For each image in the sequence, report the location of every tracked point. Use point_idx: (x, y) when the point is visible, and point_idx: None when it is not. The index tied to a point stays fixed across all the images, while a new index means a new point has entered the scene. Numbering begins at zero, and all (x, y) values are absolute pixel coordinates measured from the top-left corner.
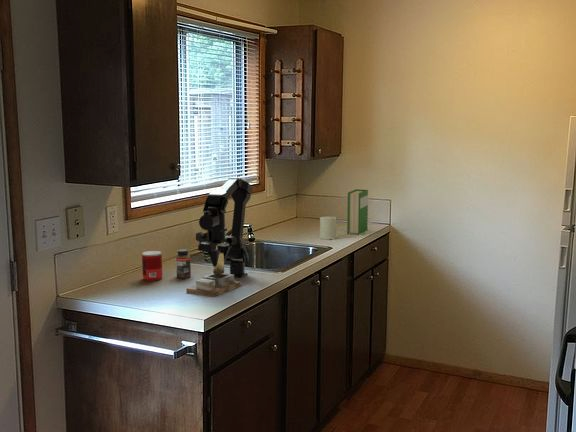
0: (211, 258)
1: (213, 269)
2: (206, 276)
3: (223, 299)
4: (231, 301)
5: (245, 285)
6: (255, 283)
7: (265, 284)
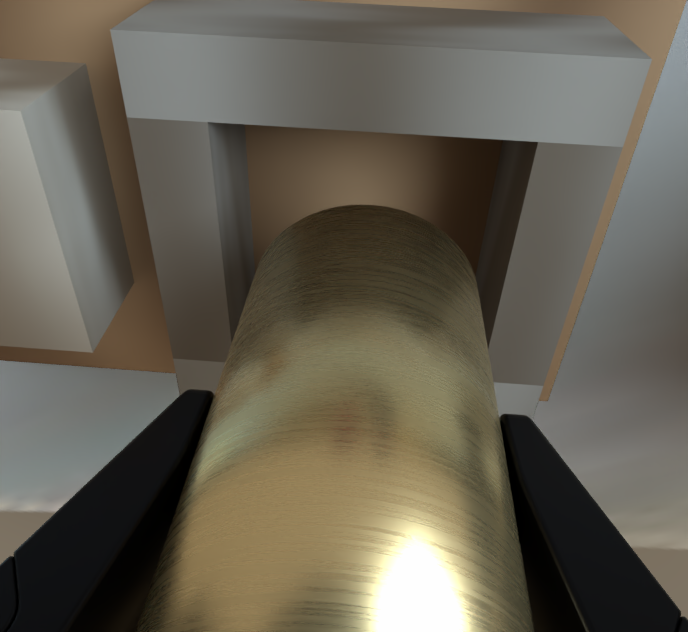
0: (19, 580)
1: (244, 310)
2: (200, 95)
3: (12, 422)
4: (22, 483)
5: (558, 401)
6: (669, 446)
7: (644, 516)
